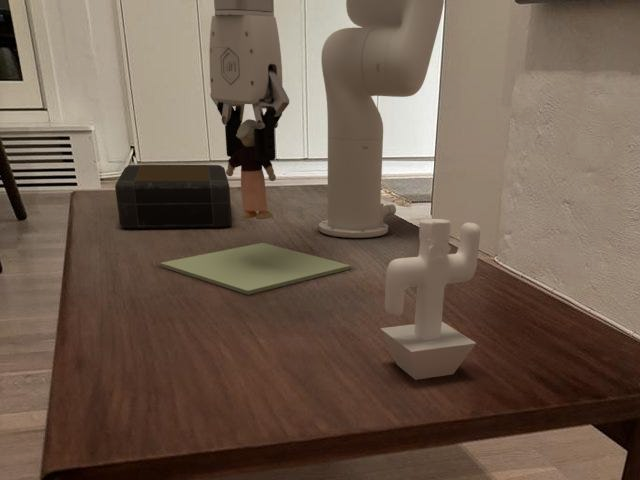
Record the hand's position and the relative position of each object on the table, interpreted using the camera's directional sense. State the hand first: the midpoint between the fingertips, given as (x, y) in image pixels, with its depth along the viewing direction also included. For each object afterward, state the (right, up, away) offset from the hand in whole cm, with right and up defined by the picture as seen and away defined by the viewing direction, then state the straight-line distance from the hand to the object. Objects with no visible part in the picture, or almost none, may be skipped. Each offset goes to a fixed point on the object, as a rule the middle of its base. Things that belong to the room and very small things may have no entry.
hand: (250, 156), depth 102 cm
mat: (0, -13, +8) cm, 15 cm away
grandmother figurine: (0, -7, +4) cm, 8 cm away
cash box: (-20, +6, +40) cm, 45 cm away
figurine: (+22, -34, -26) cm, 48 cm away
